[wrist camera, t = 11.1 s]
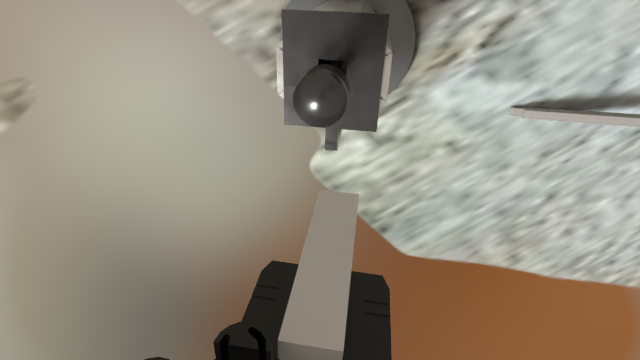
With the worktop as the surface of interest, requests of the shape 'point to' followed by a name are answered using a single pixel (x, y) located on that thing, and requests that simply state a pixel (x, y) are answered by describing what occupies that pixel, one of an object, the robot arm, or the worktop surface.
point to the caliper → (577, 116)
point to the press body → (337, 44)
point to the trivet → (399, 31)
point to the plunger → (322, 93)
